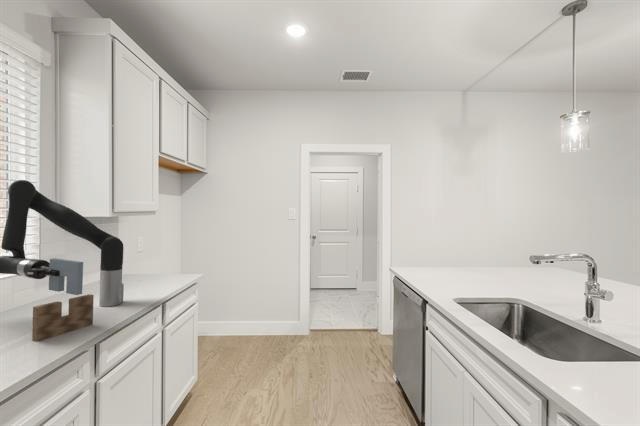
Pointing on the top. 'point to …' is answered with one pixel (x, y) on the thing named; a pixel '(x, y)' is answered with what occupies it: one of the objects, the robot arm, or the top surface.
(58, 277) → the slate plate
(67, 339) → the top surface
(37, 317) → the walnut board
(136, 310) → the top surface
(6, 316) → the top surface
